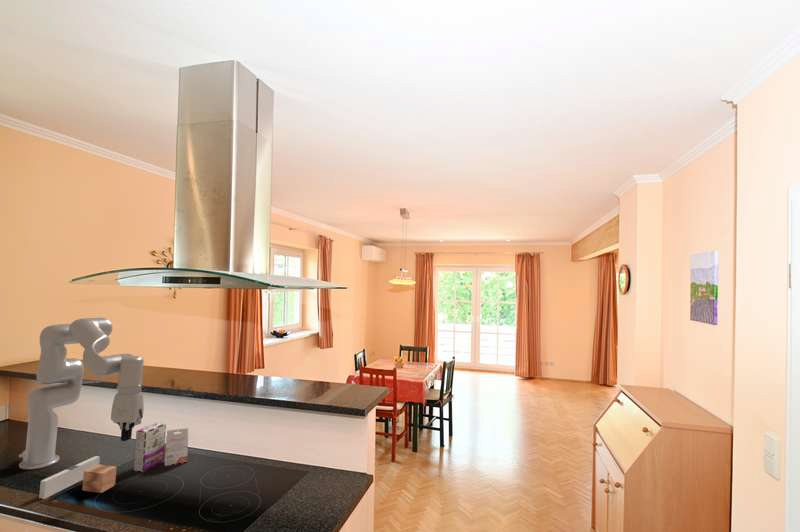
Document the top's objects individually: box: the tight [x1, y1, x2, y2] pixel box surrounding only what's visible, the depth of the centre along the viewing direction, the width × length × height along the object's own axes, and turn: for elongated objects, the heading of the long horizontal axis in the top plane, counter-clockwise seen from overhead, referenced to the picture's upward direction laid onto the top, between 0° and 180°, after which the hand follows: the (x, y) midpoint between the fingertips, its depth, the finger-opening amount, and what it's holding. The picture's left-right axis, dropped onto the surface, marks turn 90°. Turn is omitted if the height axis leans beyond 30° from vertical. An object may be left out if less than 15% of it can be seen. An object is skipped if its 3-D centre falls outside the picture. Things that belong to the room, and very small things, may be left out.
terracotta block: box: [82, 463, 117, 494], centre depth 152 cm, size 8×6×7 cm
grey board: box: [38, 455, 101, 500], centre depth 154 cm, size 2×22×6 cm, turn 172°
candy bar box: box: [133, 422, 167, 473], centre depth 171 cm, size 11×5×16 cm, turn 168°
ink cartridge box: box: [164, 427, 189, 467], centre depth 176 cm, size 9×5×15 cm, turn 117°
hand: (126, 439), depth 151 cm, fingers closed
